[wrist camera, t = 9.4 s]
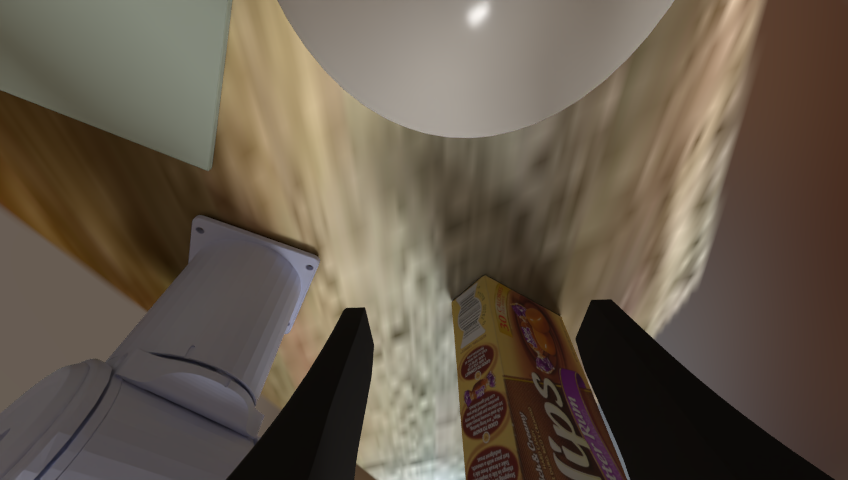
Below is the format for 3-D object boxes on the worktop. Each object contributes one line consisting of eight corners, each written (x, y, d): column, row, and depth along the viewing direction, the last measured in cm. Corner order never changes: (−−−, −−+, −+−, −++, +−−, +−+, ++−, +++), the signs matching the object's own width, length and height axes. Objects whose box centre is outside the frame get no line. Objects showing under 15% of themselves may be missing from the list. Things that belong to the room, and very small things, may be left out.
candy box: (446, 303, 26) (467, 580, 14) (482, 271, 24) (545, 567, 12) (525, 341, 29) (597, 593, 17) (563, 316, 27) (678, 584, 15)
